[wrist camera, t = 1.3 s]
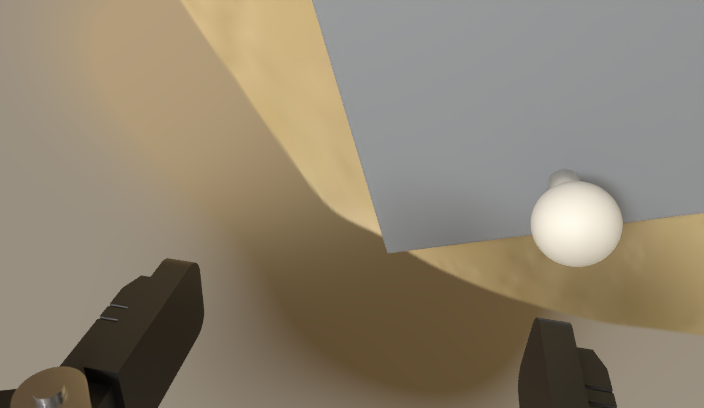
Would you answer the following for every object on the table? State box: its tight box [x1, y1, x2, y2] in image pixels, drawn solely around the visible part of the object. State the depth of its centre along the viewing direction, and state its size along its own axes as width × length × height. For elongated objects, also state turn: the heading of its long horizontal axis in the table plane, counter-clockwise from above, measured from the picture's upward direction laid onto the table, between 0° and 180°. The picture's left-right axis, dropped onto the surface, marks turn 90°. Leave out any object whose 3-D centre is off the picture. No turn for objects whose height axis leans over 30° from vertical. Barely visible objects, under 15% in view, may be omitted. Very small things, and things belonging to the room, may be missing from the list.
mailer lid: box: [312, 0, 704, 267], centre depth 25 cm, size 21×18×7 cm
